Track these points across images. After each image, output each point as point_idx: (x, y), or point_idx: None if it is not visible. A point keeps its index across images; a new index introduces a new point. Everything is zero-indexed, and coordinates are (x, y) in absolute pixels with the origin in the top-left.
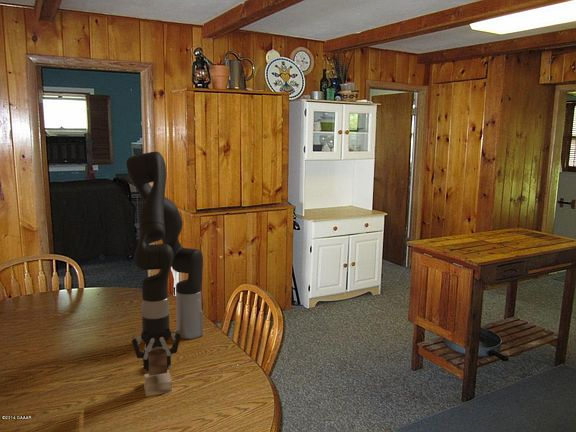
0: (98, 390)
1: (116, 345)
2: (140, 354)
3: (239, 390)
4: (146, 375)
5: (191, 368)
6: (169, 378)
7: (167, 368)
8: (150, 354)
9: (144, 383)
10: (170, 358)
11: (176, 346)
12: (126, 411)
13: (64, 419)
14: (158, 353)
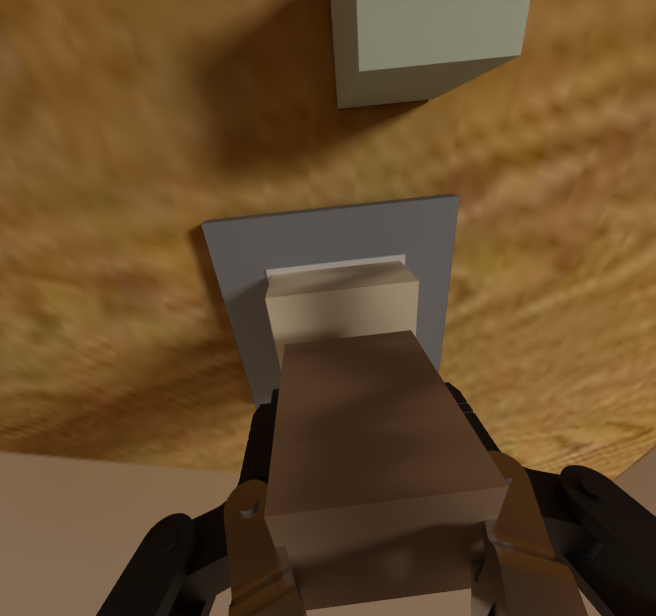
0: (21, 239)
1: None
2: (207, 612)
3: (632, 362)
4: (279, 316)
5: (568, 80)
6: None
7: (419, 94)
8: (315, 597)
9: (270, 273)
10: None
11: (632, 610)
12: (224, 413)
13: (7, 422)
14: (395, 589)
